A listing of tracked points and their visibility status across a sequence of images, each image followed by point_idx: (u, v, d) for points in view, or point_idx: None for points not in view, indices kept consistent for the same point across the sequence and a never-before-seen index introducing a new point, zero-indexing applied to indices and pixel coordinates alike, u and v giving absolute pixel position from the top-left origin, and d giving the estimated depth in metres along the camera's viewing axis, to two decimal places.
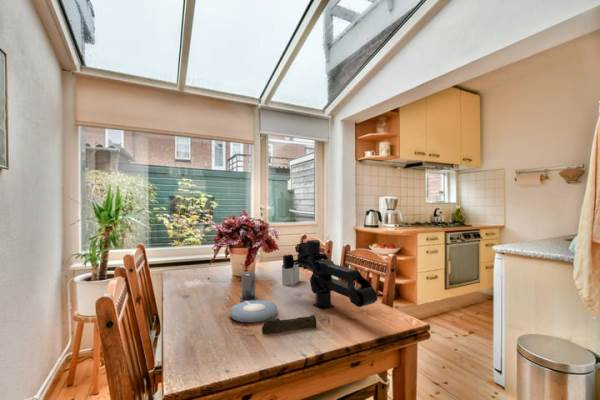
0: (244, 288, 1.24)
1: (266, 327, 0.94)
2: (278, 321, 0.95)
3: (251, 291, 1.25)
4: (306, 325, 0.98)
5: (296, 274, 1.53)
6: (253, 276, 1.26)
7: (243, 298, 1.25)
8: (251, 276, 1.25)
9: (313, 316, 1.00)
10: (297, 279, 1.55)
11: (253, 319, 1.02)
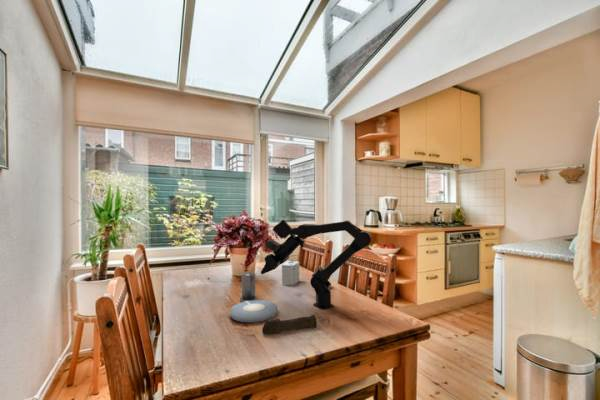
0: (244, 288, 1.24)
1: (266, 328, 0.94)
2: (278, 321, 0.95)
3: (251, 291, 1.25)
4: (306, 325, 0.98)
5: (296, 274, 1.53)
6: (253, 276, 1.26)
7: (243, 298, 1.25)
8: (251, 276, 1.25)
9: (313, 316, 1.00)
10: (297, 279, 1.55)
11: (253, 319, 1.02)
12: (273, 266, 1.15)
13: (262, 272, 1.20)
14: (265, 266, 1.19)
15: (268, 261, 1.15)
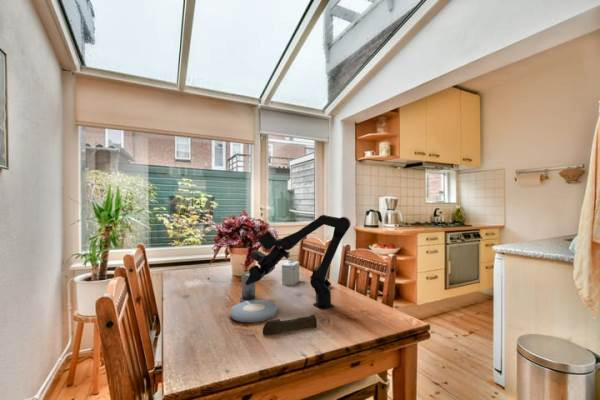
0: (244, 288, 1.24)
1: (267, 328, 0.93)
2: (279, 322, 0.94)
3: (251, 291, 1.25)
4: (306, 325, 0.98)
5: (296, 274, 1.53)
6: None
7: (243, 298, 1.25)
8: None
9: (313, 316, 1.00)
10: (297, 279, 1.55)
11: (253, 319, 1.02)
12: (257, 278, 1.16)
13: (247, 283, 1.22)
14: (250, 277, 1.21)
15: (252, 273, 1.17)
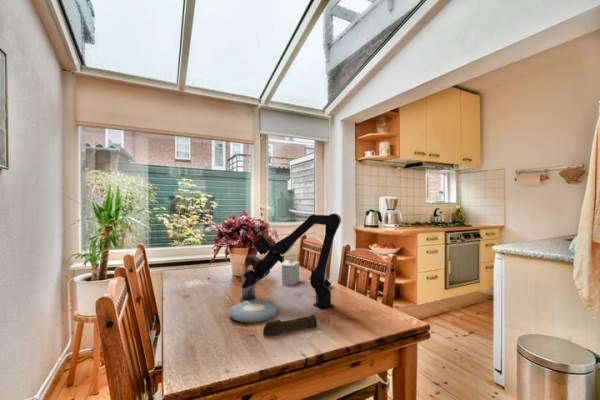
0: (244, 288, 1.24)
1: (267, 329, 0.93)
2: (279, 322, 0.94)
3: (251, 291, 1.25)
4: (307, 325, 0.98)
5: (296, 274, 1.53)
6: None
7: (243, 298, 1.25)
8: None
9: (313, 316, 1.00)
10: (297, 279, 1.55)
11: (253, 319, 1.02)
12: (252, 282, 1.17)
13: (243, 287, 1.24)
14: (246, 281, 1.23)
15: (247, 277, 1.17)
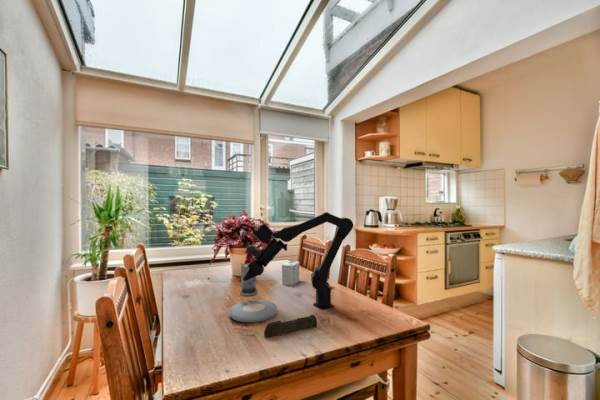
0: None
1: (269, 330, 0.92)
2: (280, 323, 0.93)
3: (252, 283, 1.17)
4: (307, 325, 0.98)
5: (296, 274, 1.53)
6: None
7: (244, 291, 1.16)
8: None
9: (313, 316, 1.00)
10: (297, 279, 1.55)
11: (253, 319, 1.02)
12: (258, 272, 1.10)
13: (245, 279, 1.15)
14: (248, 272, 1.15)
15: (253, 268, 1.10)
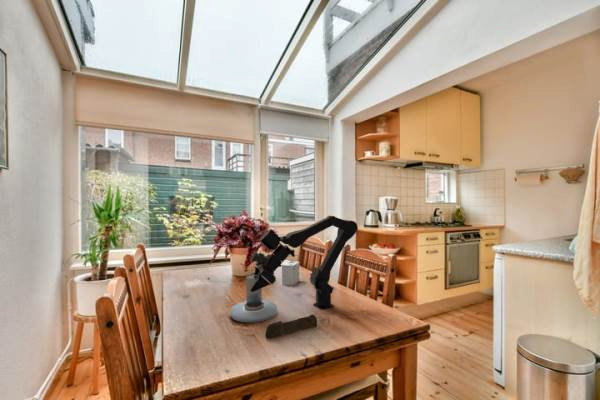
0: (253, 293, 1.09)
1: (270, 331, 0.91)
2: (282, 324, 0.93)
3: (260, 296, 1.10)
4: (307, 325, 0.97)
5: (296, 274, 1.53)
6: None
7: (251, 305, 1.09)
8: None
9: (313, 316, 1.00)
10: (297, 279, 1.55)
11: (253, 319, 1.02)
12: (272, 281, 1.04)
13: (253, 290, 1.06)
14: (257, 282, 1.06)
15: (266, 276, 1.04)
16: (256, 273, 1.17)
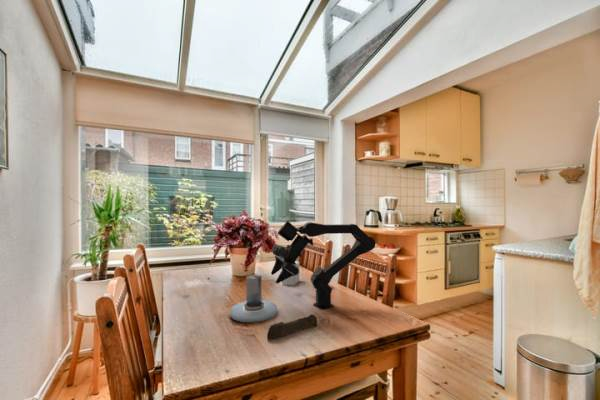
0: (253, 293, 1.09)
1: (272, 333, 0.90)
2: (283, 325, 0.92)
3: (260, 296, 1.10)
4: (308, 325, 0.97)
5: None
6: None
7: (251, 305, 1.09)
8: (260, 278, 1.10)
9: (312, 315, 1.00)
10: (297, 279, 1.55)
11: (253, 319, 1.02)
12: (295, 273, 1.09)
13: (278, 281, 1.12)
14: (282, 274, 1.11)
15: (289, 269, 1.08)
16: (277, 263, 1.22)
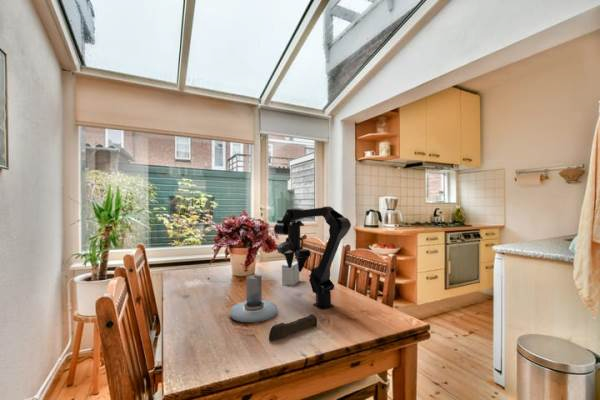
0: (253, 293, 1.09)
1: (273, 334, 0.89)
2: (284, 325, 0.92)
3: (260, 296, 1.10)
4: (308, 325, 0.97)
5: (296, 274, 1.53)
6: None
7: (251, 305, 1.09)
8: (260, 278, 1.10)
9: (312, 315, 1.00)
10: (297, 279, 1.55)
11: (253, 319, 1.02)
12: (309, 254, 1.23)
13: (300, 269, 1.25)
14: (299, 263, 1.24)
15: (303, 255, 1.21)
16: (287, 256, 1.33)
